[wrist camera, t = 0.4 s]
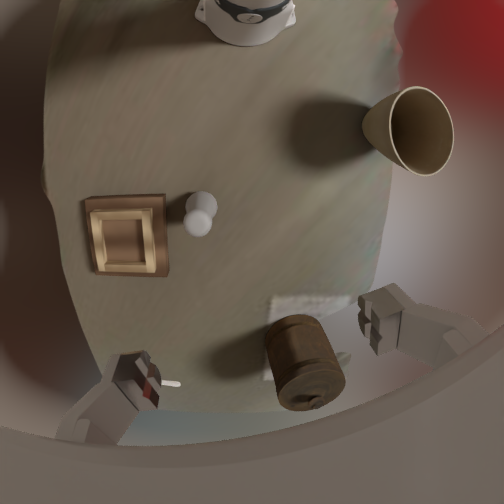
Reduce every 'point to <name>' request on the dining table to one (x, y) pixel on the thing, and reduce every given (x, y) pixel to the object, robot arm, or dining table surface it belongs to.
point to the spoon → (170, 383)
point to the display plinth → (128, 234)
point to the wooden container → (303, 364)
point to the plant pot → (411, 130)
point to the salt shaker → (199, 213)
